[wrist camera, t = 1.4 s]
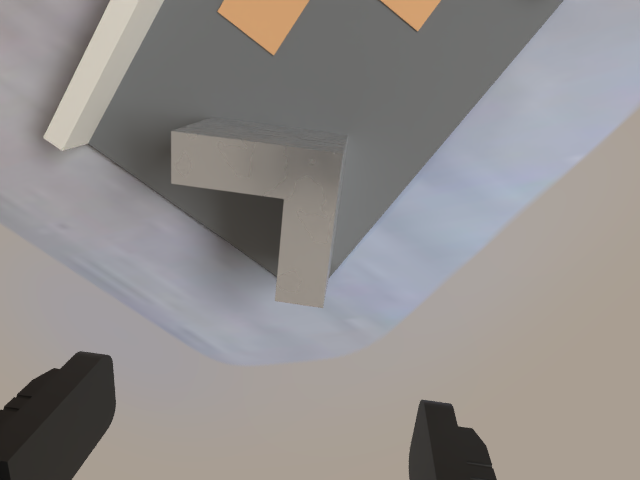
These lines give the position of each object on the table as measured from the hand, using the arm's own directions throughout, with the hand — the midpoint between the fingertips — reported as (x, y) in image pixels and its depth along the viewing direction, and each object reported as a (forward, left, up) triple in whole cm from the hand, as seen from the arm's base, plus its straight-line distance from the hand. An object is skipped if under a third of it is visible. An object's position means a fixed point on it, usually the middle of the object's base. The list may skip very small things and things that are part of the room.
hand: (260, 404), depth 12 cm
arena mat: (+2, +9, -18) cm, 20 cm away
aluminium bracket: (-2, +2, -18) cm, 18 cm away
